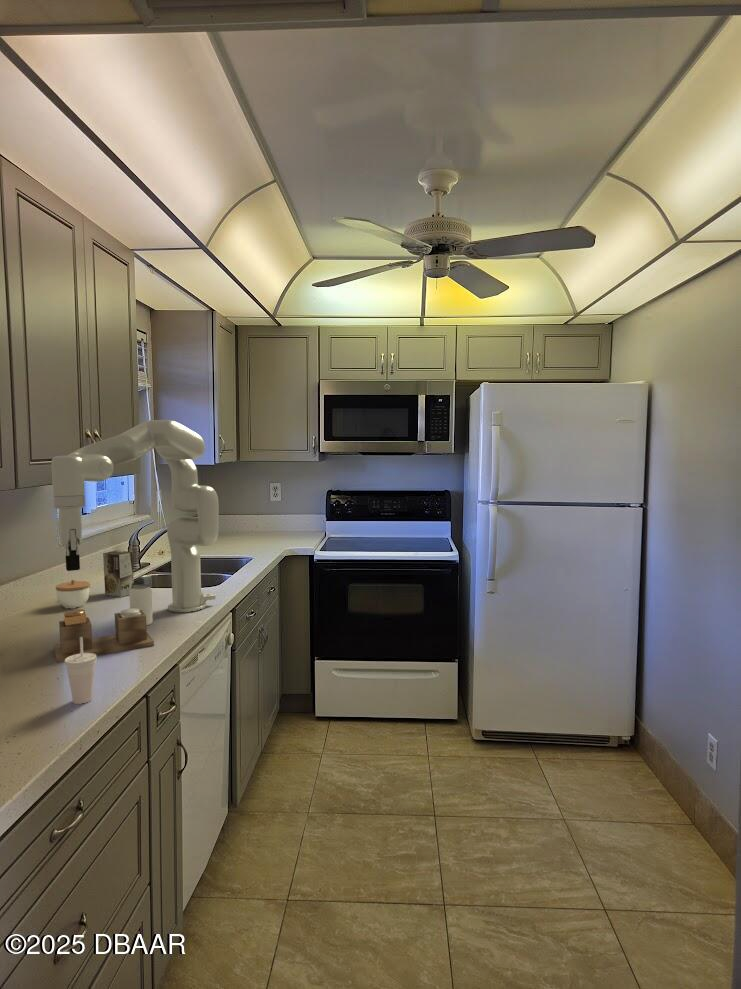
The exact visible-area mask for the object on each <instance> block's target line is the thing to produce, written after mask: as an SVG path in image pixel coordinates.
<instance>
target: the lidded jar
mask: <svg viewBox="0 0 741 989" xmlns="http://www.w3.org/2000/svg"><path fill="white" fill-rule="evenodd" d="M90 591H91V583H90V581H85V580H77V581H75V579H71V580H70V581H68V582H61V583H59V584H57V585H55V592H56V598H57V601H58V602H59V604H60V605H61V606H62V607H65V608H64V609H68V608H71V609H77V608H76V607H79V608H81V606H82V607H84V606H83V605H85V604H86V603H87V601H88V600H89V598H90V595H91V594H90V593H91V592H90Z"/></svg>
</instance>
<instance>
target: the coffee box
mask: <svg viewBox="0 0 741 989" xmlns="http://www.w3.org/2000/svg"><path fill="white" fill-rule="evenodd" d="M133 559H134V558H133V551H128V550H127V551H126V550H112V551H108V552H104V553H102V560H103V561H102V562H103V576H104V579H103V580H104V594H105V596H111V597H118V598H122V597H126V595H127V596H130V590H131V587H132V586H135V584H134V583H135V582H134V580H135V579H134V560H133Z"/></svg>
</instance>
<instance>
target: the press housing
mask: <svg viewBox="0 0 741 989" xmlns="http://www.w3.org/2000/svg"><path fill="white" fill-rule="evenodd" d="M139 611H140V613H141V616H134V617H128V618H121V617H120V616H119V612H115V613H114V634H113V635H111V634H110V635H107V636H105V635H104V636H101V637H99V636H98V637H93V634H92V633H93V631H92V622H91V621H90V617H88V616H86V624H80V625H73V626H67V627H64V620H59V621H58V624H59V626H58V627H59V643H57V644H53V650H55V651H54V654H55V658H56V662H57V663H62V662H65V659H66V658H67V657H69V656H72V655H75V654H80V637H83V653H93V654H95V655H96V657H97V656H102V655H107V654H108V655H109V654H113V653H119V651H120V652H124V651H130V650H135V648H137V649H140V648H141V647H143V648H147V647H146V646H148V647H152V646H151V645H154V646H155V641H154V639H153V638H152V637H151V635H149V634H150V633H148V632H147V627H148V626H146V615H145V614H144V612H143V611H142V610H139ZM141 649H142V648H141Z"/></svg>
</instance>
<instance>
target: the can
mask: <svg viewBox="0 0 741 989" xmlns="http://www.w3.org/2000/svg"><path fill="white" fill-rule="evenodd" d="M152 596H153V594H152V589H151V586H150V584H134V586H132V587H131V590H130V595H129V609H139V610H142V611H143V612H144V614H145V615H146V627H148V626H150V625H152V623H153V621H154V620H153V598H152ZM147 625H148V626H147Z"/></svg>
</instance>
